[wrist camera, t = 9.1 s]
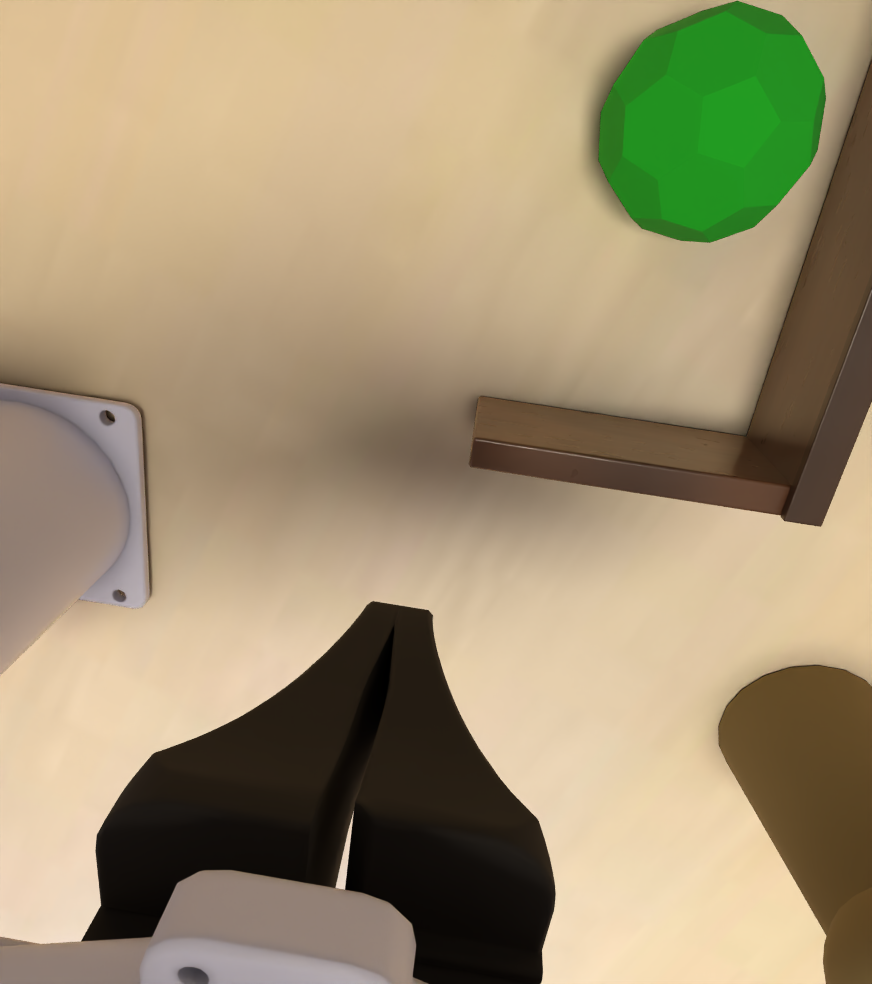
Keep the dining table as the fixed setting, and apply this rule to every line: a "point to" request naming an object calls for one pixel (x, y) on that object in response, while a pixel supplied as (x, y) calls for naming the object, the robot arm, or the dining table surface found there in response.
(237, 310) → the dining table surface
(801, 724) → the brown pawn piece
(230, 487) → the dining table surface
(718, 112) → the polyhedron
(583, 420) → the brown l-shaped bars
